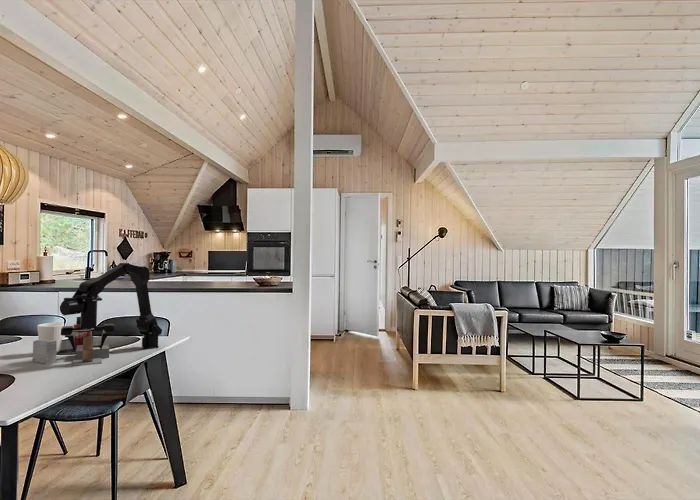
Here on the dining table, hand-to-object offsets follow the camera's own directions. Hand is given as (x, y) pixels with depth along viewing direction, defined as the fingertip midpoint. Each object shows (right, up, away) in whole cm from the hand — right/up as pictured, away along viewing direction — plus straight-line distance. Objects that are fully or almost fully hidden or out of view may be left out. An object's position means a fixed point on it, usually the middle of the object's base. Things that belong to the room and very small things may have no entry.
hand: (87, 350), depth 176 cm
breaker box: (-4, -5, +10) cm, 12 cm away
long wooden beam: (0, -5, 0) cm, 5 cm away
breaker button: (-4, -4, +10) cm, 12 cm away
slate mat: (0, -5, 0) cm, 5 cm away
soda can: (-16, -5, +22) cm, 28 cm away
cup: (-25, -5, +14) cm, 29 cm away
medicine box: (-18, -5, 0) cm, 18 cm away
